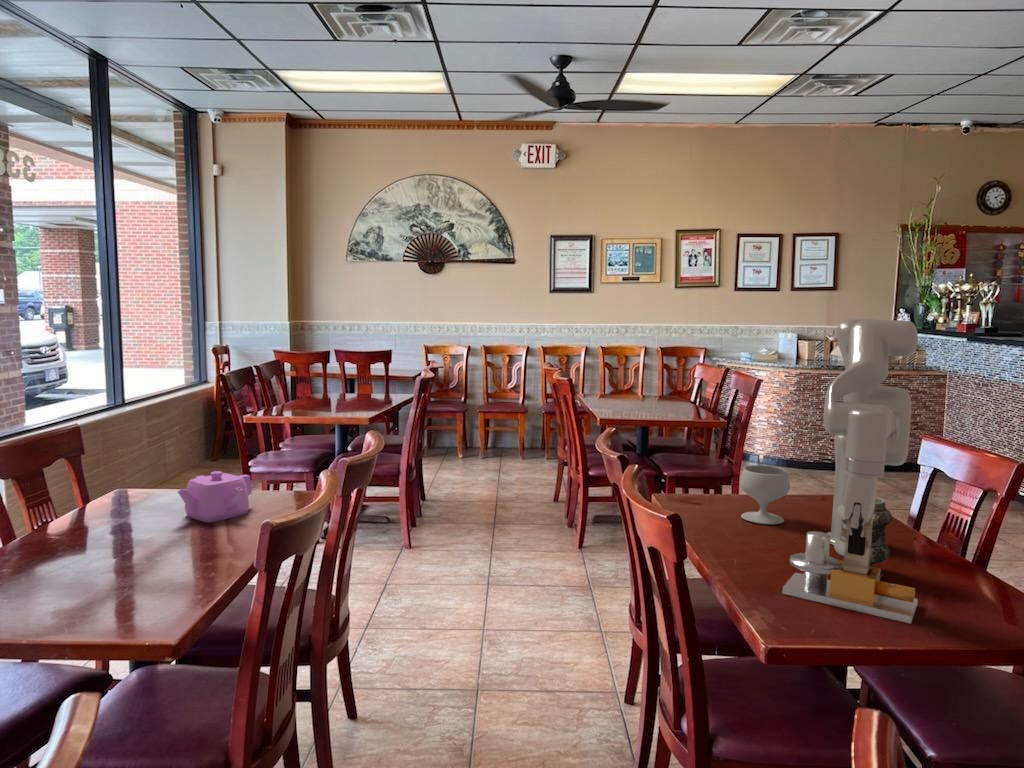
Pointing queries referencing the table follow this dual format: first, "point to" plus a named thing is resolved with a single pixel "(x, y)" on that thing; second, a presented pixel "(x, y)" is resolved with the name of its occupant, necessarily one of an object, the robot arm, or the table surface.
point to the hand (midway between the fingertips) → (857, 550)
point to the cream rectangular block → (856, 561)
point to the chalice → (764, 490)
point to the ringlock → (846, 584)
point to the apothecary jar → (878, 533)
